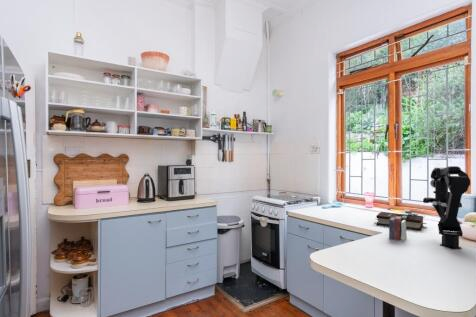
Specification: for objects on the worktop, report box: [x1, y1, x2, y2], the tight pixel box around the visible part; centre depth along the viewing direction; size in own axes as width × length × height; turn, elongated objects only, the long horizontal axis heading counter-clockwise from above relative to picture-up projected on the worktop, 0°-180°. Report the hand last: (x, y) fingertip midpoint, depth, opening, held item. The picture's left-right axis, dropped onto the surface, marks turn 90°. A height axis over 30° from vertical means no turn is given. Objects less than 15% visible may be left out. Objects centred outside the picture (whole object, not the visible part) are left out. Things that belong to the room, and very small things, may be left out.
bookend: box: [401, 220, 408, 242], centre depth 153 cm, size 1×8×10 cm, turn 142°
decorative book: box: [375, 211, 427, 232], centre depth 187 cm, size 19×8×30 cm
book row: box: [388, 216, 402, 241], centre depth 156 cm, size 5×8×12 cm, turn 142°
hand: (441, 217), depth 154 cm, fingers closed
